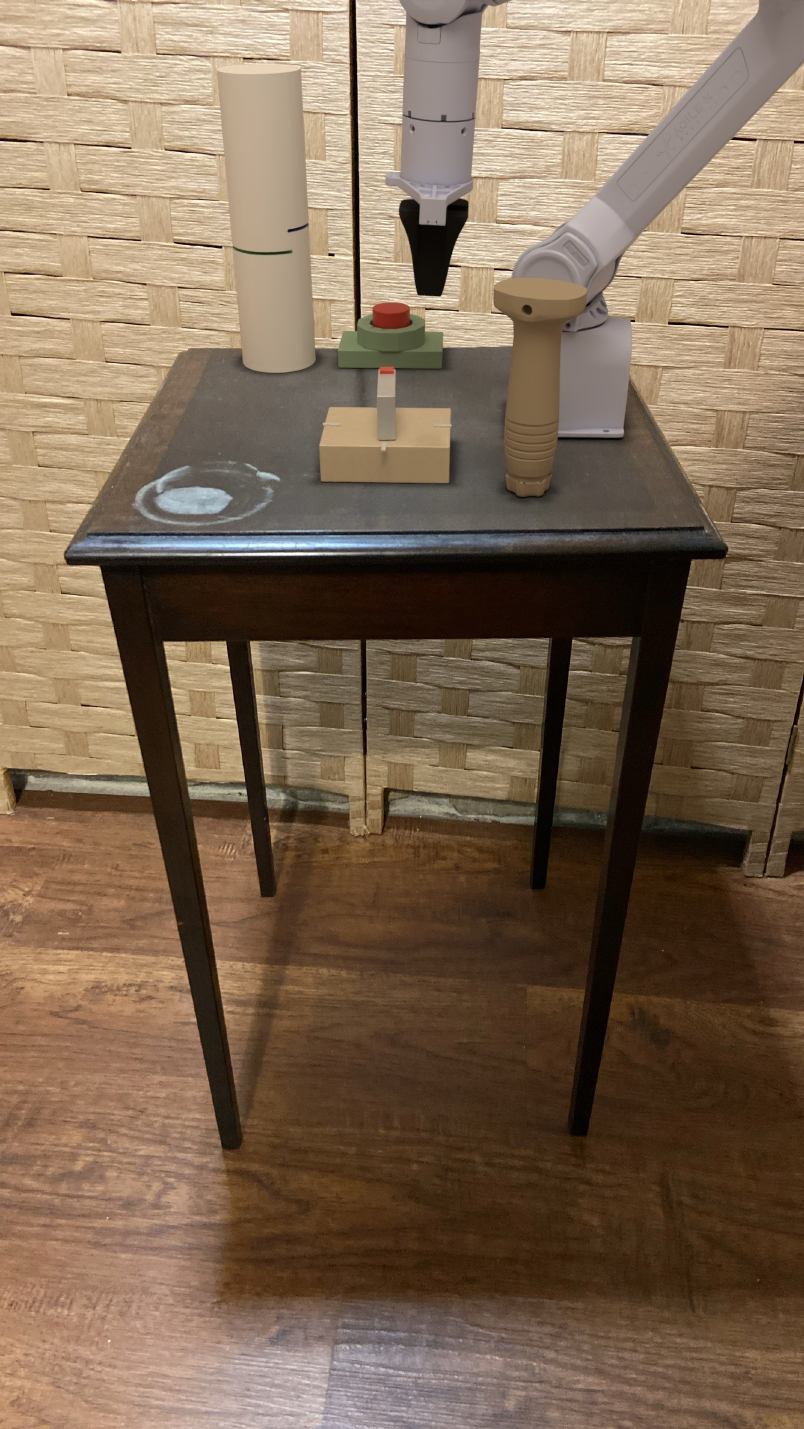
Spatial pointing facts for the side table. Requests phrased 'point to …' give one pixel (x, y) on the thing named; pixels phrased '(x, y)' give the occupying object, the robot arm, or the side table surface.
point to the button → (391, 315)
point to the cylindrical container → (268, 213)
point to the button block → (391, 346)
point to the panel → (386, 446)
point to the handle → (534, 375)
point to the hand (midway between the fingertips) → (429, 293)
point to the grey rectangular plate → (386, 403)
